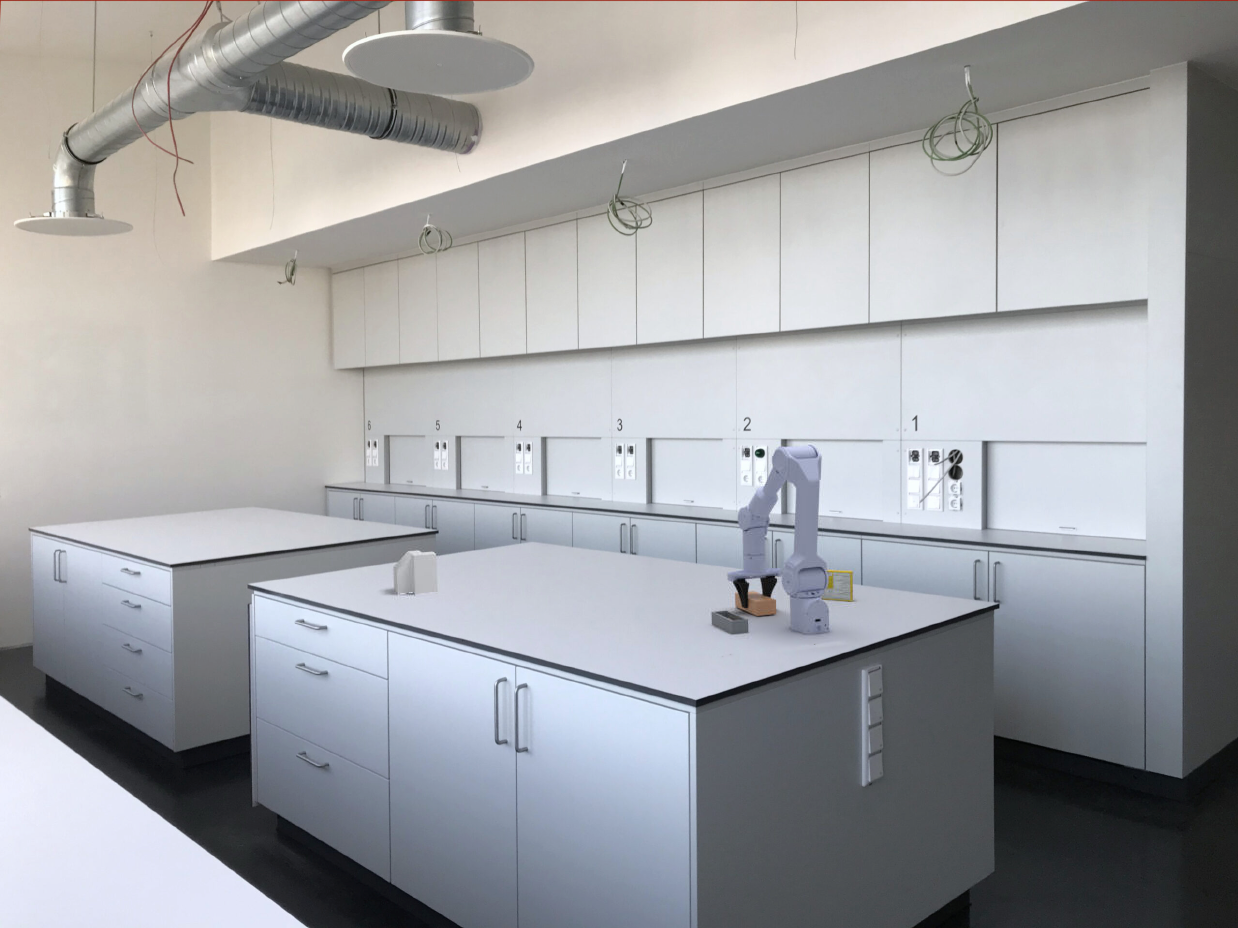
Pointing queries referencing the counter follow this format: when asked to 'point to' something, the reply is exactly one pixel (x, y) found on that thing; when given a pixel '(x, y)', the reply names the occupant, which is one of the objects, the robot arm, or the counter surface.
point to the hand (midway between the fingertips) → (755, 606)
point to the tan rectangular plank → (757, 604)
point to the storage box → (729, 622)
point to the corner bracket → (416, 573)
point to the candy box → (839, 586)
